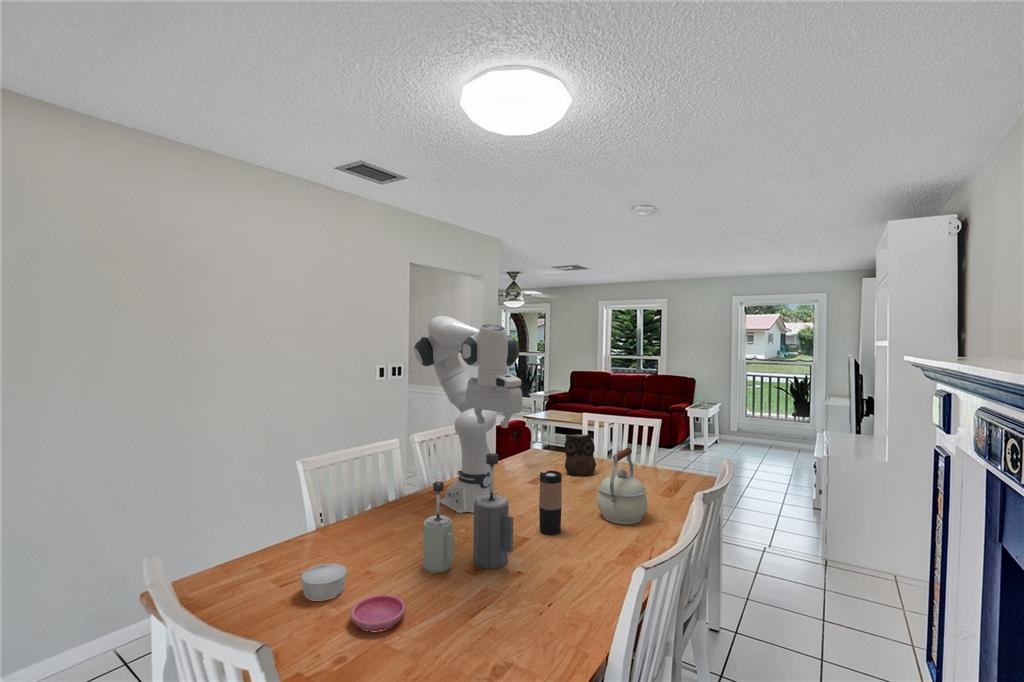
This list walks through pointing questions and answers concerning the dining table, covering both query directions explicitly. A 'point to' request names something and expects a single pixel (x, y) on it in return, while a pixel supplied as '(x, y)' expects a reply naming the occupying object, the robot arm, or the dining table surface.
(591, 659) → the dining table surface
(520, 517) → the dining table surface
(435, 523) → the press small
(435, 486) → the plunger small
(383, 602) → the saucer
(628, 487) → the kettle
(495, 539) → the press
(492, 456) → the plunger
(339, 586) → the ramekin
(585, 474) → the owl
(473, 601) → the dining table surface
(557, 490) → the travel mug
